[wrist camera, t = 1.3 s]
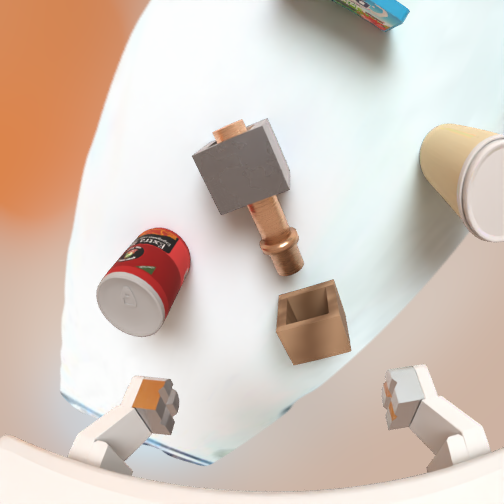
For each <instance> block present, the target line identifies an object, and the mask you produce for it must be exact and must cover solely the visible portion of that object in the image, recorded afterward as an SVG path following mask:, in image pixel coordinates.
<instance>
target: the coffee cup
mask: <svg viewBox="0 0 504 504" xmlns="http://www.w3.org/2000/svg"><path fill="white" fill-rule="evenodd" d="M420 166H421V169H422V172H423V174H424V176H425V177H426V179H427V180H428V182H429V183H430V184H431V185H432V186H433V187H434V188H435V190H436V191H437V192H438V193H439V194H440V195H441V196H442V197H443V199H444V200H445V201H446V202H447V203H448V204H449V206H450V207H451V208H452V209H453V210H454V211H455V213H456V214H457V215H458V216H459V217H460V218H461V219H462V221H463V223H464V224H465V226H466V227H467V229H468V230H469V231H470V232H471V233H472V234H473V235H474V236H476V237H477V238H479V239H481V240H484V241H489V242H503V241H504V135H503V134H497V133H493V132H489V131H485V130H481V129H476V128H472V127H467V126H462V125H456V124H442V125H439V126H437V127H435V128H433V129H432V130H431V131H430V132H429V133H428V134H427V135H426V137H425V138H424V140H423V142H422V145H421V149H420Z"/></svg>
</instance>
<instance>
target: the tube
mask: <svg viewBox="0 0 504 504" xmlns="http://www.w3.org/2000/svg"><path fill="white" fill-rule="evenodd" d="M246 131H247V128H246V126H245V124H244V122H243V120H242V119H241V120H239V121H236V122H234V123H231V124H229V125H227V126H225V127H222V128H220V129H218V130H216V131H214V132H213V135H214V137H215V139H216V141H217V144H218V143H220V142H222V141H225V140H227V139H229V138H232V137H234V136H236V135H239V134H241V133H243V132H246ZM247 207H248V209H249V212H250V214H251V216H252V218H253V220H254V222H255V224H256V227H257V229H258V231H259V233H260V235H261V237H262V240H261V241H260V247H261V249H262V251H263V253H264V254H266V255H270V257H271V259H272V261H273V264H274V266H275V268H276V270H277V272H278V274H279V275H281V276H289V275H292V274H294V273H296V272H298V271H299V270H300V269H301V268H302V267H303V265H304V262H303V259H302V257H301V254H300V252H299V249H298V247H297V244H296V243H297V242H298V240H299V236H298V234H297V231H296V229H295V228H293V227H289V225H288V222H287V220H286V218H285V215H284V213H283V210H282V208H281V206H280V203H279V201H278V199H277V196H276V195H274V196H271V197H268V198H266V199H263V200H260V201H257V202H255V203H252V204H249V205H247Z"/></svg>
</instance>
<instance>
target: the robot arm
mask: <svg viewBox="0 0 504 504" xmlns="http://www.w3.org/2000/svg"><path fill="white" fill-rule="evenodd" d="M385 378H386V382H385V383H384V384H383V388H382V402H383V407H385V408H386V409H387V413H386V420H387V425H388V430H391V429H398V428H405V427H409V428H410V429H411V430H412V431H413V432H414V433H415V434H416V435H417V436H418V438H419V439H420V440H422V442H423V443H424V444H425V445H426V446H427V447H428V448H429V449H430V450H431V451H432V452H433V453H434V454H435V455H436V456H435V457H434V459H433V460H432V461H431V463H430V464H429V465H428V467H427V473H424V474H420V475H416V476H412V477H407V478H402V479H398V480H392V481H387V482H382V483H376V484H369V485H363V486H355V487H347V488H338V489H327V490H314V491H292V492H257V491H233V490H219V489H208V488H200V487H191V486H184V485H177V484H171V483H165V482H159V481H154V480H149V479H143V478H139V477H134V476H132V473H133V471H132V469H131V468H130V467H129V466H128V465H127V464H126V463H125V462H124V461H125V460H126V459H127V458H128V457H129V456H131V455H132V454H133V453H134V451H135V450H137V449H138V448H139V447H140V446H141V445H142V444H143V443H144V442H145V441H146V440H147V439H148V438H149V437H150V436H151V435H152V433H155V434H165V435H171V433H172V430H173V426H174V423H175V421H174V419H173V416H174V415H176V414H177V412H178V408H179V397H178V394H177V392H176V391H175V390H174V389H172V386H173V383H172V381H171V379H165V378H154V377H144V376H134V377H133V378H132V379H131V382H130V384H129V386H128V388H127V391H126V393H125V395H124V397H123V400H122V402H121V404H120V406H116V407H114V408H113V409H112V410H110V411H109V412H107V413H106V414H105V415H103V416H102V417H101V418H99V419H98V420H97V421H95V422H94V423H92V424H91V425H90V426H88V427H87V428H86V429H84V430H83V431H81V432H80V433H79V434H78V435H77V437H76V439H75V441H74V443H73V445H72V448H71V450H70V452H69V454H68V457H64V456H61V455H58V454H56V453H53V452H50V451H48V450H45V449H43V448H40V447H38V446H35V445H33V444H30V443H28V442H26V441H24V440H21V439H19V438H17V437H15V436H12V435H4V436H2V437H0V504H504V447H503V448H501V449H498V450H496V451H493V452H491V450H490V447H489V444H488V441H487V438H486V435H485V432H484V430H483V427H482V426H481V425H480V424H479V423H477V422H476V421H475V420H473V419H472V418H471V417H469V416H468V415H467V414H465V413H464V412H463V411H461V410H460V409H459V408H457V407H456V406H454V405H453V404H452V403H451V402H449V401H448V400H447V399H445V398H444V397H443V396H438V394H437V392H436V389H435V386H434V384H433V381H432V379H431V376H430V373H429V371H428V368H427V366H426V365H425V364H422V365H416V366H409V367H403V368H397V369H390V370H387V372H386V375H385Z"/></svg>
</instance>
